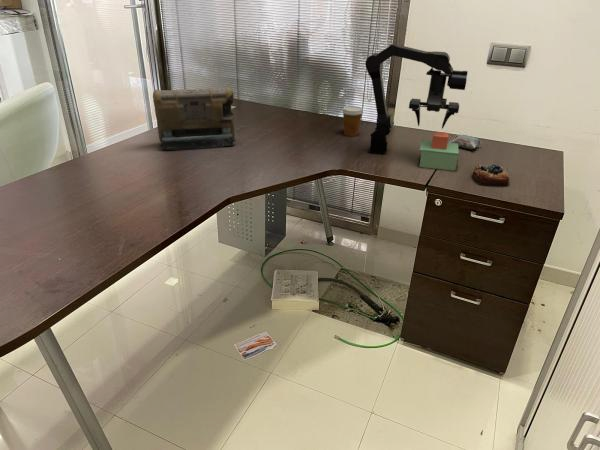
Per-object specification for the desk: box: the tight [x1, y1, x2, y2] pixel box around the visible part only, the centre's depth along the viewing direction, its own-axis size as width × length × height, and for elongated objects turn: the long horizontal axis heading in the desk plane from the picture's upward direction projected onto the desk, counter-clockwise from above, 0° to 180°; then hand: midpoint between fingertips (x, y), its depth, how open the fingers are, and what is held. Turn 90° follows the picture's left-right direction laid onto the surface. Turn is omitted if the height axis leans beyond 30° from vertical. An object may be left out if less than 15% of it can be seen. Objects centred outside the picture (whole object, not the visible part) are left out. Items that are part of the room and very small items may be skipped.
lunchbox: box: [419, 152, 459, 172], centre depth 180 cm, size 14×12×6 cm
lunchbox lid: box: [419, 139, 460, 156], centre depth 178 cm, size 14×12×1 cm
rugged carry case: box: [152, 86, 236, 151], centre depth 192 cm, size 33×14×25 cm, turn 108°
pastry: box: [472, 164, 510, 187], centre depth 166 cm, size 11×12×6 cm
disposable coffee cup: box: [341, 105, 364, 137], centre depth 210 cm, size 10×10×12 cm
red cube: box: [431, 131, 449, 149], centre depth 177 cm, size 6×6×5 cm
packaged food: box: [448, 134, 483, 150], centre depth 197 cm, size 9×12×5 cm
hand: (430, 127), depth 181 cm, fingers open, 9 cm apart
